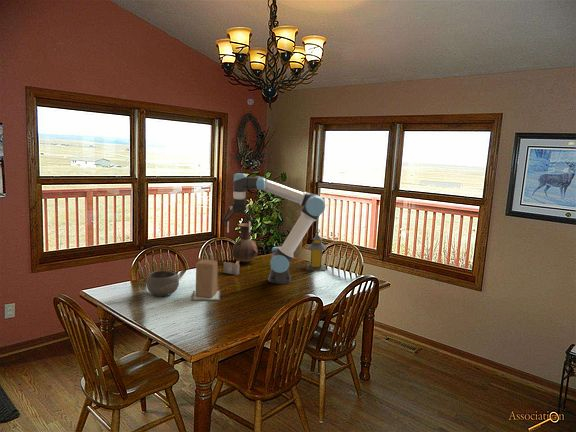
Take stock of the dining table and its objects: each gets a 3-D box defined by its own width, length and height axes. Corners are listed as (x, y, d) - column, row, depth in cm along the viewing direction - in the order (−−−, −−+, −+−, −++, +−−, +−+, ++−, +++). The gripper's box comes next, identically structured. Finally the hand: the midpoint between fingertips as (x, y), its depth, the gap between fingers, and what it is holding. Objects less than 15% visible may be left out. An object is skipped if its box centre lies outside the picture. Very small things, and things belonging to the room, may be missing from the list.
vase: (223, 262, 324) (224, 223, 319) (239, 257, 341) (240, 221, 337) (250, 267, 312) (251, 227, 307) (265, 262, 329) (266, 224, 325)
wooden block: (211, 298, 240) (212, 264, 237) (195, 296, 242) (195, 262, 239) (217, 293, 250) (218, 260, 247) (201, 291, 252) (202, 258, 249)
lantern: (307, 265, 327) (309, 227, 322) (325, 266, 325) (327, 228, 320) (305, 269, 313) (307, 230, 308) (324, 271, 311) (327, 231, 307)
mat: (220, 291, 255) (220, 290, 255) (220, 300, 239) (220, 299, 239) (193, 291, 253) (193, 290, 252) (191, 300, 237) (191, 299, 237)
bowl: (184, 292, 251) (184, 271, 249) (166, 301, 234) (166, 279, 232) (159, 288, 256) (159, 268, 255) (139, 297, 239) (139, 275, 238)
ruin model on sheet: (239, 274, 295) (239, 261, 293) (237, 275, 292) (237, 261, 290) (225, 272, 299) (225, 258, 298) (223, 273, 296) (223, 259, 295)
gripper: (258, 198, 267) (258, 231, 270) (218, 197, 263) (218, 231, 266) (260, 199, 260) (259, 233, 263) (219, 198, 256) (218, 233, 259)
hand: (238, 232), depth 265 cm, fingers open, 13 cm apart
